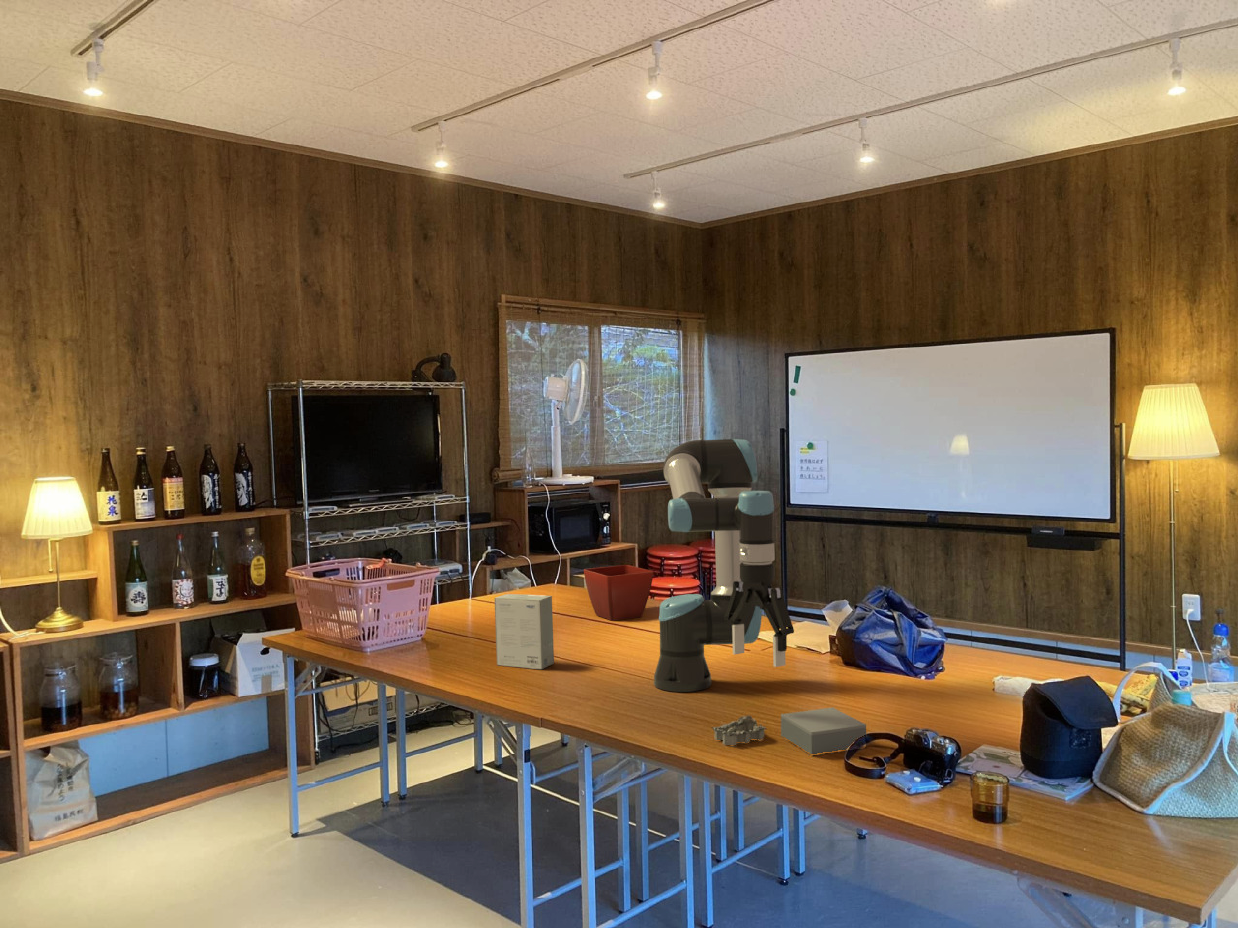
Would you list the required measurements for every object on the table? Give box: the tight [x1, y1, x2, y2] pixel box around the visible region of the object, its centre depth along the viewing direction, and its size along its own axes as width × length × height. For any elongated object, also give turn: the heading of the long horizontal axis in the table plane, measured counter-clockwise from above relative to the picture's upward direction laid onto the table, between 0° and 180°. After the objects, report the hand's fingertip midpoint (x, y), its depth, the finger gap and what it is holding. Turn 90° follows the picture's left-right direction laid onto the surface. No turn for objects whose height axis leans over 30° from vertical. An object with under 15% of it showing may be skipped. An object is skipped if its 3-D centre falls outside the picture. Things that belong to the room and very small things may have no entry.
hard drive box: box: [494, 593, 555, 670], centre depth 271 cm, size 16×8×20 cm, turn 65°
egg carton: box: [711, 714, 768, 746], centre depth 204 cm, size 11×8×4 cm
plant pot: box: [583, 564, 654, 622], centre depth 337 cm, size 19×19×17 cm
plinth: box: [780, 707, 867, 754], centre depth 200 cm, size 13×13×5 cm
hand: (758, 659), depth 203 cm, fingers open, 13 cm apart
